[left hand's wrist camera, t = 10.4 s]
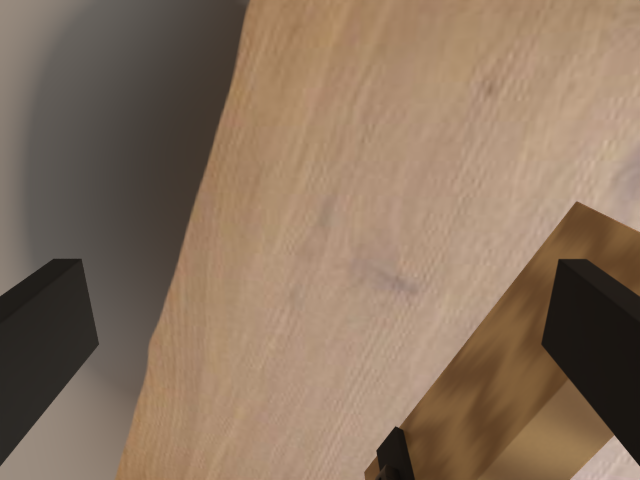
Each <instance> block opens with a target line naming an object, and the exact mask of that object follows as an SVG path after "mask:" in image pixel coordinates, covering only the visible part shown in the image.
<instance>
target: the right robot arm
mask: <svg viewBox="0 0 640 480" xmlns="http://www.w3.org/2000/svg"><path fill="white" fill-rule="evenodd" d="M377 457H378V464H379V470H380V473H379V474H378V475H377V476H376V478H375V480H415V477H414V473H413V469H412V464H411V460H410V456H409V452H408V448H407V443H406V439H405V435H404V431H403V430H402V429H400V428H398V427H396V426H395V428H394V429H393V430H392V431H391V433H390V434H389V435H388V436H387V438H386V439H385V440H384V442H383V443H382V444H381V445H380V447H379V448H378V449H377Z"/></svg>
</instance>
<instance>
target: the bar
mask: <svg viewBox="0 0 640 480" xmlns="http://www.w3.org/2000/svg"><path fill="white" fill-rule="evenodd" d="M558 259H587V260H589V261H590V262H592V263H593V264H594V265H596V266H597V267H599V268H600V269H602V270H603V271H604V272H606V273H607V274H609V275H610V276H612V277H613V278H614V279H616V280H617V281H619V282H620V283H621V284H623V285H624V286H626V287H627V288H629V289H630V290H631V291H633V292H634V293H636V294H637V295H639V296H640V232H638V231H636V230H634V229H632V228H630V227H628V226H626V225H624V224H622V223H620V222H618V221H616V220H614V219H612V218H610V217H608V216H606V215H604V214H602V213H600V212H598V211H596V210H594V209H592V208H590V207H587V206H585V205H583V204H581V203H579V202H576V203H575V204H574V205H573V206H572V208H571V209H570V210H569V212H568V213H567V214H566V215H565V217H564V218H563V219H562V220H561V222H560V223H559V224H558V226H557V227H556V228H555V229H554V231H553V232H552V233H551V235H550V236H549V237H548V238H547V240H546V241H545V242H544V243H543V245H542V246H541V247H540V249H539V250H538V251H537V252H536V254H535V255H534V256H533V257H532V259H531V260H530V261H529V263H528V264H527V265H526V266H525V268H524V269H523V270H522V272H521V273H520V274H519V275H518V277H517V278H516V279H515V280H514V282H513V283H512V284H511V286H510V287H509V288H508V289H507V291H506V292H505V293H504V295H503V296H502V297H501V298H500V300H499V301H498V302H497V303H496V305H495V306H494V307H493V309H492V310H491V311H490V312H489V314H488V315H487V316H486V317H485V319H484V320H483V321H482V323H481V324H480V325H479V326H478V328H477V329H476V330H475V332H474V333H473V334H472V335H471V337H470V338H469V339H468V340H467V342H466V343H465V344H464V346H463V347H462V348H461V349H460V351H459V352H458V353H457V354H456V356H455V357H454V358H453V360H452V361H451V362H450V363H449V365H448V366H447V367H446V369H445V370H444V371H443V372H442V374H441V375H440V376H439V377H438V379H437V380H436V381H435V383H434V384H433V385H432V386H431V388H430V389H429V390H428V392H427V393H426V394H425V395H424V397H423V398H422V399H421V400H420V402H419V403H418V404H417V406H416V407H415V408H414V409H413V411H412V412H411V413H410V414H409V416H408V417H407V418H406V420H405V421H404V422H403V423H402V425H401V426H400V427H399V428H400V429H402V430H403V431H404V435H405V439H406V443H407V448H408V452H409V456H410V460H411V464H412V469H413V473H414V477H415V480H570V479H571V478H572V477H573V476H574V475H575V474H576V473H577V472H578V471H579V470H580V469H581V468H582V467H583V466H584V465H585V464H586V463H587V462H588V461H589V460H590V459H591V458H592V457H593V456H594V455H595V454H596V453H597V452H598V451H599V450H600V449H601V448H602V447H603V446H604V445H605V444H606V443H607V442H608V441H609V440H610V439H611V438H612V437H613V436H614V434H613V433H612V431H611V430H610V429H609V428H608V426H607V425H606V424H605V423H604V421H603V420H602V419H601V418H600V416H599V415H598V414H597V413H596V412H595V410H594V409H593V408H592V407H591V405H590V404H589V403H588V402H587V400H586V399H585V398H584V397H583V396H582V394H581V393H580V392H579V391H578V389H577V388H576V387H575V386H574V384H573V383H572V382H571V381H570V379H569V378H568V377H567V376H566V375H565V373H564V372H563V371H562V370H561V368H560V367H559V366H558V365H557V363H556V362H555V361H554V360H553V358H552V357H551V356H550V355H549V354H548V352H547V351H546V350H545V349H544V347H543V346H542V345H541V342H542V337H543V332H544V327H545V322H546V318H547V313H548V308H549V303H550V298H551V293H552V288H553V283H554V279H555V274H556V269H557V264H558ZM364 473H365V480H375V478H376V476H377V475H378V474H379V473H380V470H379V464H378V457H376V458H375V459H374V460H373V462H372V463H371V464H370V466H369V467H368V468H367V469H366V471H365V472H364Z"/></svg>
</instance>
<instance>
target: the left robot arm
mask: <svg viewBox="0 0 640 480" xmlns="http://www.w3.org/2000/svg"><path fill="white" fill-rule="evenodd" d="M98 345H99V342H98V337H97V332H96V327H95V322H94V318H93V313H92V308H91V303H90V298H89V293H88V289H87V283H86V279H85V274H84V269H83V264H82V259H53V260H51V261H50V262H48V263H47V264H46V265H44V266H43V267H41V268H40V269H39V270H37V271H36V272H34V273H33V274H31V275H30V276H28V277H27V278H26V279H24V280H23V281H21V282H20V283H19V284H17V285H16V286H14V287H13V288H11V289H10V290H9V291H7V292H6V293H4V294H3V295H1V296H0V466H1V465H2V463H3V462H4V461H5V460H6V458H7V457H8V456H9V455H10V453H11V452H12V451H13V450H14V449H15V447H16V446H17V445H18V444H19V442H20V441H21V440H22V439H23V437H24V436H25V435H26V434H27V432H28V431H29V430H30V429H31V428H32V426H33V425H34V424H35V423H36V421H37V420H38V419H39V418H40V416H41V415H42V414H43V413H44V412H45V410H46V409H47V408H48V407H49V405H50V404H51V403H52V402H53V400H54V399H55V398H56V397H57V396H58V394H59V393H60V392H61V391H62V389H63V388H64V387H65V386H66V384H67V383H68V382H69V381H70V379H71V378H72V377H73V376H74V374H75V373H76V372H77V371H78V370H79V368H80V367H81V366H82V365H83V363H84V362H85V361H86V360H87V358H88V357H89V356H90V355H91V354H92V352H93V351H94V350H95V349H96V347H97V346H98ZM541 345H542V346H543V347H544V349H545V350H546V351H547V352H548V354H549V355H550V356H551V357H552V358H553V360H554V361H555V362H556V363H557V365H558V366H559V367H560V368H561V370H562V371H563V372H564V373H565V375H566V376H567V377H568V378H569V379H570V381H571V382H572V383H573V384H574V386H575V387H576V388H577V389H578V391H579V392H580V393H581V394H582V396H583V397H584V398H585V399H586V400H587V402H588V403H589V404H590V405H591V407H592V408H593V409H594V410H595V412H596V413H597V414H598V415H599V416H600V418H601V419H602V420H603V421H604V423H605V424H606V425H607V426H608V428H609V429H610V430H611V431H612V433H613V434H614V435H615V436H616V437H617V439H618V440H619V441H620V442H621V444H622V445H623V446H624V447H625V449H626V450H627V451H628V452H629V454H630V455H631V456H632V457H633V458H634V460H635V461H636V462H637V463H638V465H639V466H640V296H639V295H637V294H636V293H634V292H633V291H631V290H630V289H629V288H627V287H626V286H624V285H623V284H621V283H620V282H619V281H617V280H616V279H614V278H613V277H612V276H610V275H609V274H607V273H606V272H604V271H603V270H602V269H600V268H599V267H597V266H596V265H594V264H593V263H592V262H590V261H589V260H587V259H558V264H557V269H556V274H555V279H554V283H553V288H552V293H551V298H550V303H549V308H548V313H547V318H546V322H545V327H544V332H543V337H542V342H541Z"/></svg>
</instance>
